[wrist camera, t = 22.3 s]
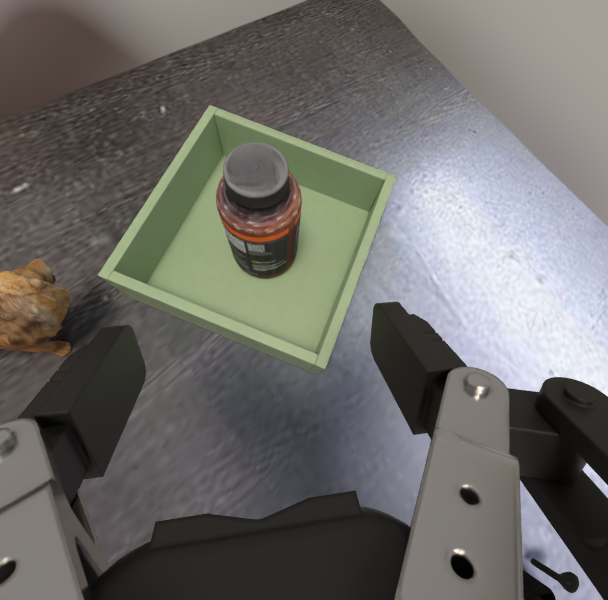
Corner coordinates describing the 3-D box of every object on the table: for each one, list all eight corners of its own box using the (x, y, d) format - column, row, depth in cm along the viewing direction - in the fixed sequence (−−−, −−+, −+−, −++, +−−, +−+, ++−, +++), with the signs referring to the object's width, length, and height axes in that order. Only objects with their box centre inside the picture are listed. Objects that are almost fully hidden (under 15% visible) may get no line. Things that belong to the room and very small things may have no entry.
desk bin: (131, 298, 28) (96, 275, 23) (220, 151, 33) (209, 104, 28) (316, 374, 27) (325, 369, 22) (377, 212, 33) (396, 176, 27)
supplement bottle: (280, 214, 31) (282, 116, 20) (307, 265, 30) (324, 190, 19) (222, 235, 30) (191, 144, 19) (247, 290, 28) (229, 225, 18)
